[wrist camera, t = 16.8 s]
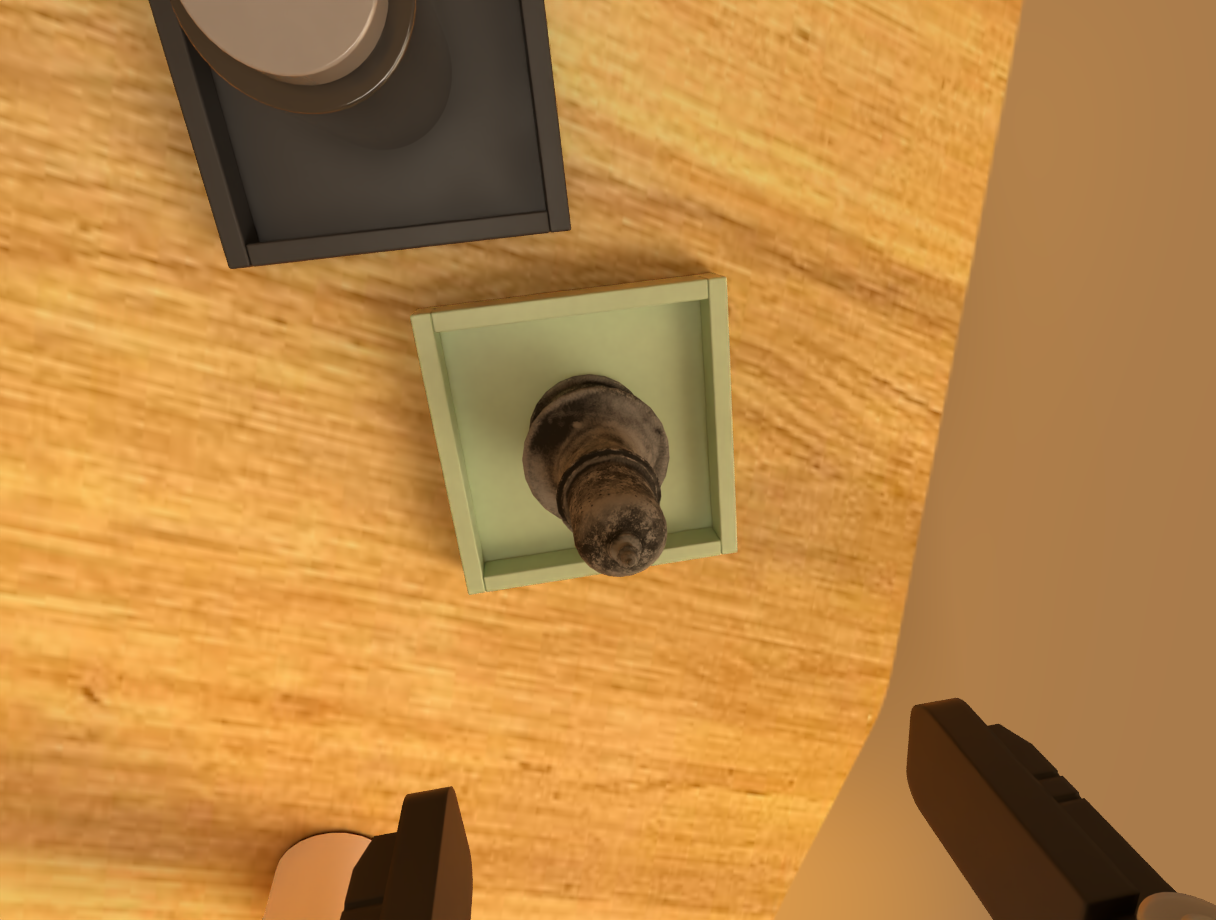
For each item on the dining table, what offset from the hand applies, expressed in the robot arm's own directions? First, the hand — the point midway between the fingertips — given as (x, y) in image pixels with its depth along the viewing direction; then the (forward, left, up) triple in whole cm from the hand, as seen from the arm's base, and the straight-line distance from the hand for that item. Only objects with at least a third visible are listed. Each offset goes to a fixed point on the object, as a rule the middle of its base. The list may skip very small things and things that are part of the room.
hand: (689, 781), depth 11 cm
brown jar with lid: (+6, -15, -19) cm, 25 cm away
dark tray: (+6, -15, -20) cm, 26 cm away
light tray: (0, 0, -20) cm, 20 cm away
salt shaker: (0, 0, -20) cm, 20 cm away
